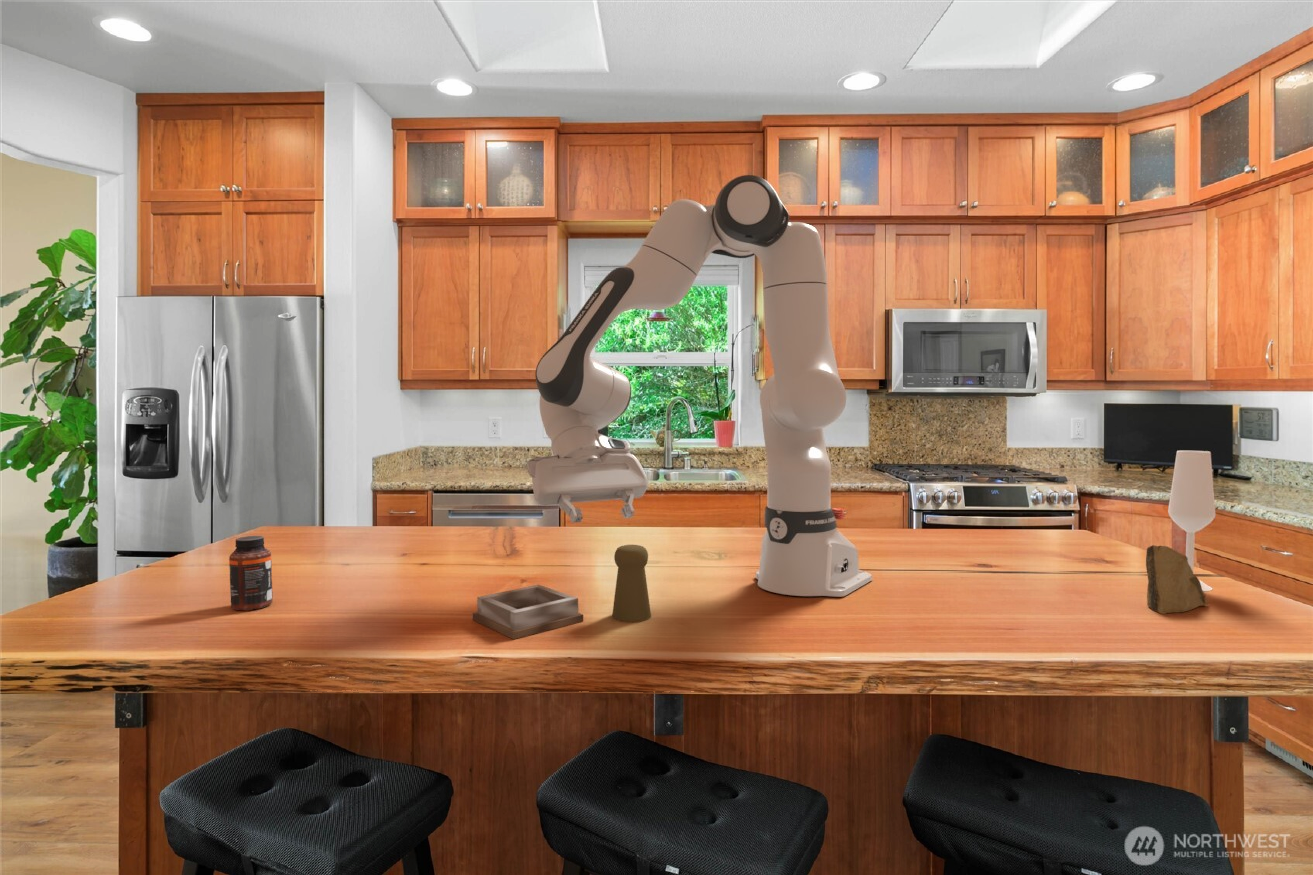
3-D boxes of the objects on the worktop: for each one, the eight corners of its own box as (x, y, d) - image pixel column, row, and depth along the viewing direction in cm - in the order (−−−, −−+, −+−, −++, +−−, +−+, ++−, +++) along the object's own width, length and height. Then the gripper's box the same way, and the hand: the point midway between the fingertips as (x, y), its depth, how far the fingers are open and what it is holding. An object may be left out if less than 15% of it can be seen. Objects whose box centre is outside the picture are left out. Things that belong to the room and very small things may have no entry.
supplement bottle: (281, 603, 116) (279, 535, 116) (247, 613, 111) (244, 542, 110) (257, 599, 119) (254, 533, 118) (222, 609, 114) (220, 539, 113)
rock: (1193, 584, 118) (1127, 573, 120) (1219, 551, 112) (1150, 540, 114) (1215, 639, 110) (1145, 626, 112) (1245, 606, 105) (1170, 593, 106)
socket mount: (539, 604, 116) (539, 583, 115) (583, 621, 107) (583, 598, 106) (472, 619, 108) (472, 597, 107) (513, 639, 99) (513, 614, 98)
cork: (646, 623, 106) (646, 550, 105) (607, 620, 107) (606, 548, 106) (654, 611, 112) (654, 542, 111) (617, 609, 113) (617, 541, 112)
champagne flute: (1220, 588, 124) (1226, 452, 123) (1199, 593, 121) (1204, 453, 120) (1178, 579, 130) (1183, 449, 129) (1157, 583, 127) (1161, 450, 126)
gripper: (527, 445, 118) (549, 511, 110) (636, 441, 128) (663, 502, 120) (519, 469, 122) (539, 535, 114) (625, 464, 132) (650, 524, 124)
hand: (604, 518), depth 117 cm, fingers open, 8 cm apart
